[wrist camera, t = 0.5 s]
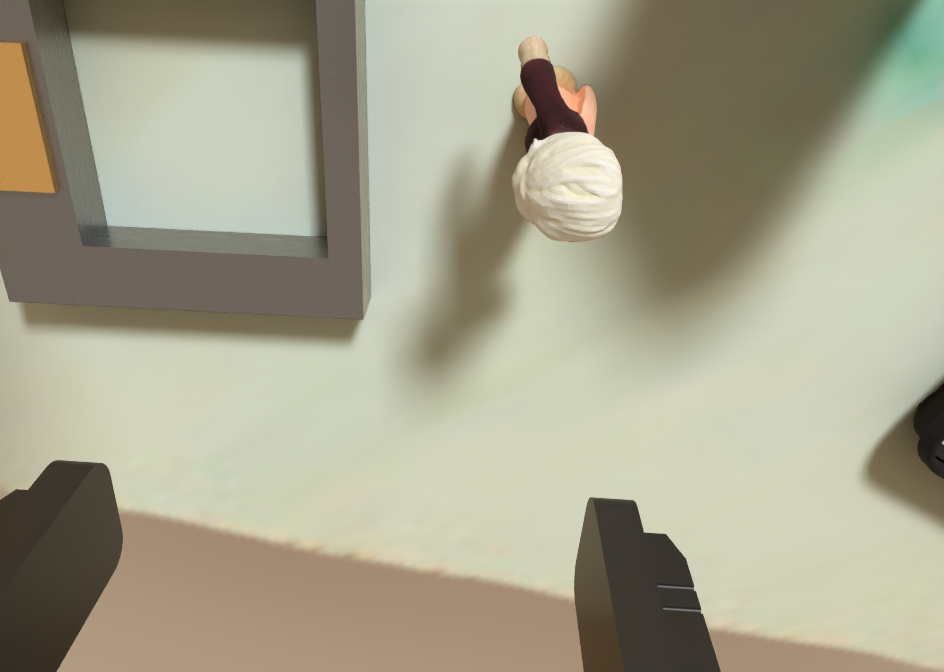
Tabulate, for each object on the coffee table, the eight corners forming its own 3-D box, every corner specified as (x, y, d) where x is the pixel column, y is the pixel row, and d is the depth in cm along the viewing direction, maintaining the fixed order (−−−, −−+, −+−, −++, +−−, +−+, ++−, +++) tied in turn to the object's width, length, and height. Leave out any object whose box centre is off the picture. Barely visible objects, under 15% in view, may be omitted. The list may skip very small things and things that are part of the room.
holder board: (-66, -124, 29) (-118, -128, 26) (362, -101, 29) (350, -103, 26) (37, 279, 37) (5, 304, 34) (371, 296, 37) (362, 322, 34)
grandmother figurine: (624, 167, 34) (691, 285, 22) (546, 204, 34) (573, 335, 23) (554, 0, 30) (592, 43, 19) (471, 46, 31) (460, 111, 20)
